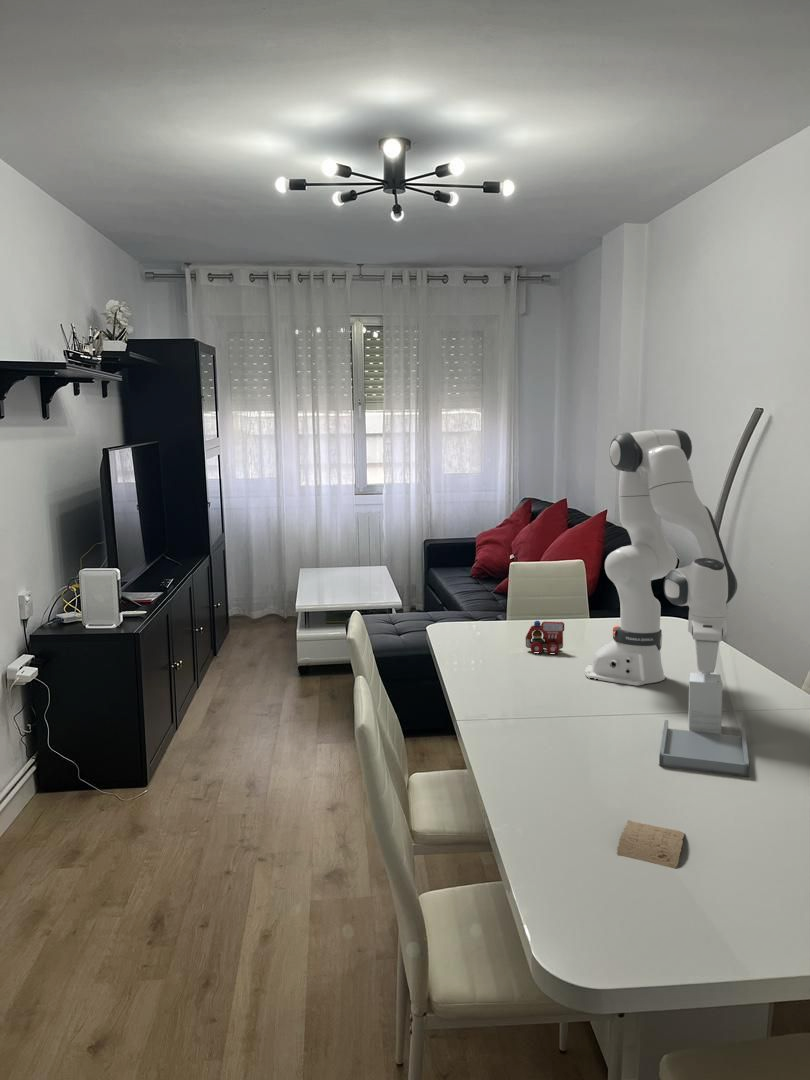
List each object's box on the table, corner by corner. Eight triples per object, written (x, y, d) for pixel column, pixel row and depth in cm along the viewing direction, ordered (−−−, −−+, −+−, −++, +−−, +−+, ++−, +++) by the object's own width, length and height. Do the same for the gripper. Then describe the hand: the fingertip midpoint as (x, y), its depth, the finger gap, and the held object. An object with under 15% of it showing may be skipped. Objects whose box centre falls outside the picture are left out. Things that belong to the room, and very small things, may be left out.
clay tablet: (629, 823, 147) (630, 809, 146) (687, 834, 143) (688, 819, 142) (614, 862, 134) (615, 846, 134) (677, 875, 130) (678, 859, 129)
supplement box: (719, 724, 193) (721, 674, 191) (721, 735, 186) (723, 683, 185) (687, 721, 196) (689, 671, 194) (687, 732, 189) (689, 680, 187)
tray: (659, 765, 170) (659, 754, 170) (664, 730, 190) (664, 720, 190) (748, 776, 164) (749, 765, 164) (744, 738, 184) (744, 728, 184)
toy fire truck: (526, 648, 264) (527, 617, 263) (564, 650, 261) (565, 619, 260) (524, 653, 257) (524, 622, 256) (563, 655, 254) (563, 624, 253)
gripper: (694, 615, 205) (693, 667, 207) (692, 634, 186) (691, 691, 188) (720, 616, 203) (719, 669, 205) (721, 636, 184) (720, 694, 186)
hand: (705, 680), depth 196 cm, fingers closed
